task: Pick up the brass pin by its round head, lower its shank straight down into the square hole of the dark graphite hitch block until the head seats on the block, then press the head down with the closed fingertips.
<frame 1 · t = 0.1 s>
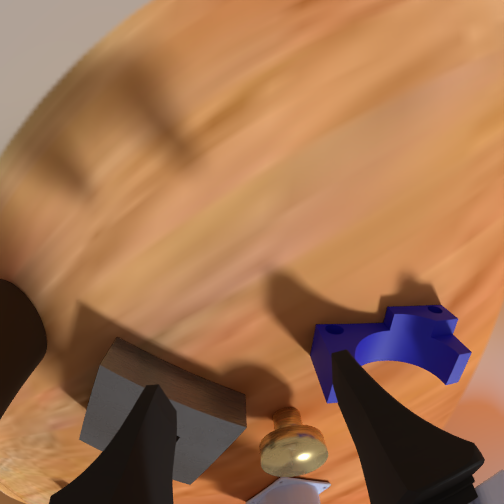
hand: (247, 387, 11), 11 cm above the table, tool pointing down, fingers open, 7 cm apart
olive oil: (12, 321, 22), on the table
blue angular block: (379, 328, 24), on the table
hitch block: (159, 408, 25), on the table
brass pin: (286, 416, 26), on the table
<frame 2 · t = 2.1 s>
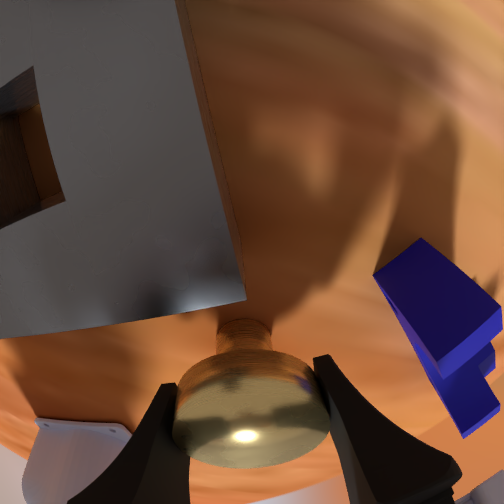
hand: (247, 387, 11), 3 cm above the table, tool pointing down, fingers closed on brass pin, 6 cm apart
blue angular block: (436, 314, 15), on the table
hitch block: (61, 140, 10), on the table
brass pin: (243, 339, 14), on the table, touching gripper
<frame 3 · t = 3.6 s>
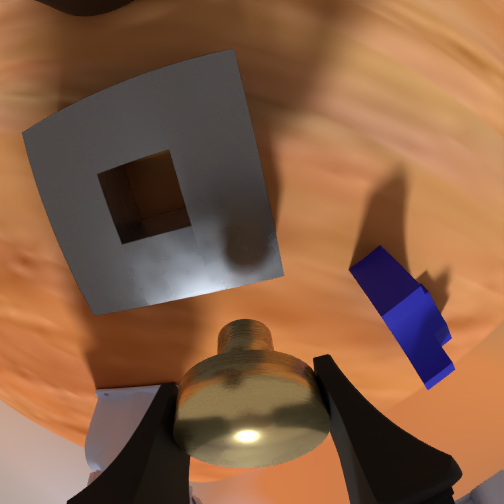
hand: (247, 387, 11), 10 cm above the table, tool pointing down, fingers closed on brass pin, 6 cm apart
blue angular block: (399, 297, 24), on the table
hitch block: (159, 182, 18), on the table
brass pin: (244, 339, 14), point 7 cm above the table, touching gripper
when the fingers open (5 cm above the table, at t = 5.6 s): brass pin drops 2 cm, resting on hitch block.
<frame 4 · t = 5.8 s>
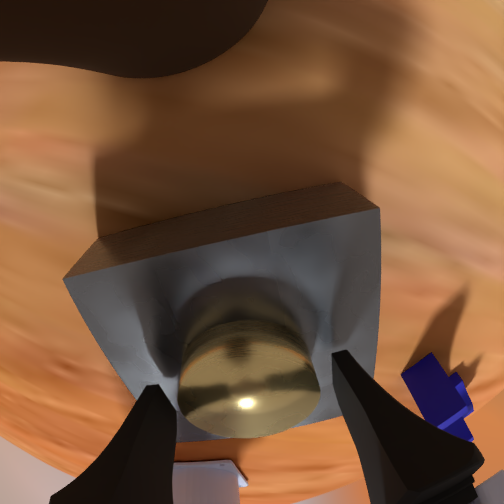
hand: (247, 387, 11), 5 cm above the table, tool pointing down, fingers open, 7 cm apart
blue angular block: (435, 383, 22), on the table
hitch block: (241, 314, 16), on the table
brass pin: (242, 319, 16), resting on hitch block
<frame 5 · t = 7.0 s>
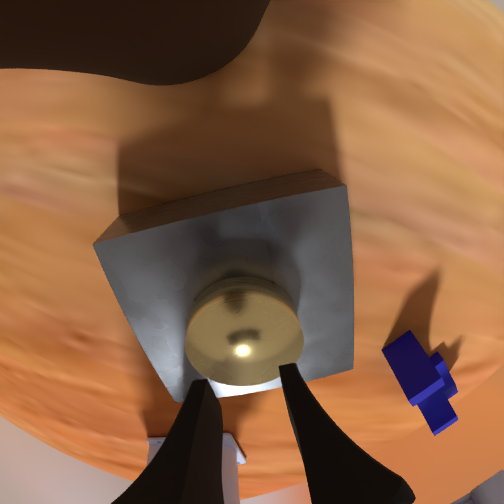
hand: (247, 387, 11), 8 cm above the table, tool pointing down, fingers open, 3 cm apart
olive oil: (173, 9, 12), on the table
blue angular block: (418, 362, 25), on the table
hitch block: (239, 282, 19), on the table
brass pin: (240, 286, 19), resting on hitch block
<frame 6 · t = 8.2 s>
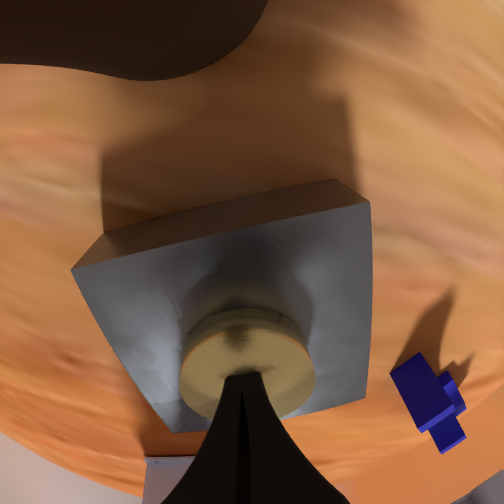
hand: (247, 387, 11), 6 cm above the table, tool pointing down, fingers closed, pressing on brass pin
blue angular block: (426, 381, 23), on the table
hitch block: (241, 306, 17), on the table
brass pin: (241, 311, 16), resting on hitch block, touching gripper
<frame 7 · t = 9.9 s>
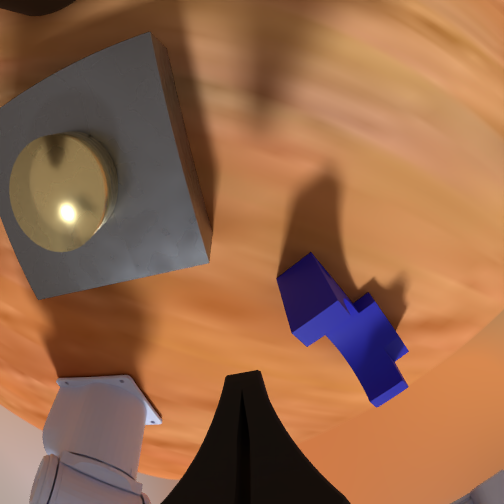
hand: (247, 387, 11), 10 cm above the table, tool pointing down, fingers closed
blue angular block: (343, 306, 23), on the table
hitch block: (98, 169, 17), on the table
brass pin: (96, 171, 16), resting on hitch block
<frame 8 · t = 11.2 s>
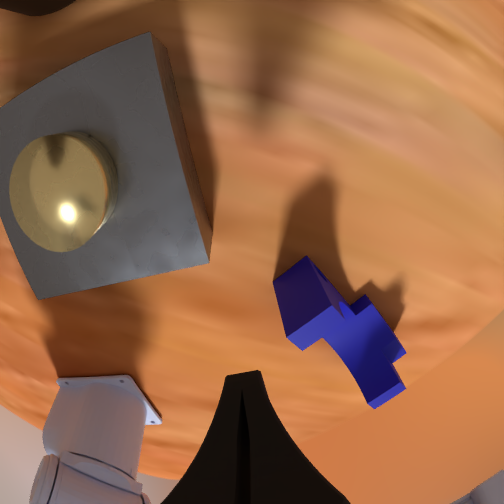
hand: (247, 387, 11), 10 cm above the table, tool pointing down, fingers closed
blue angular block: (340, 308, 23), on the table
hitch block: (98, 169, 17), on the table
brass pin: (96, 171, 16), resting on hitch block
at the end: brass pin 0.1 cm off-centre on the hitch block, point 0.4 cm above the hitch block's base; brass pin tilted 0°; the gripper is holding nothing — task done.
